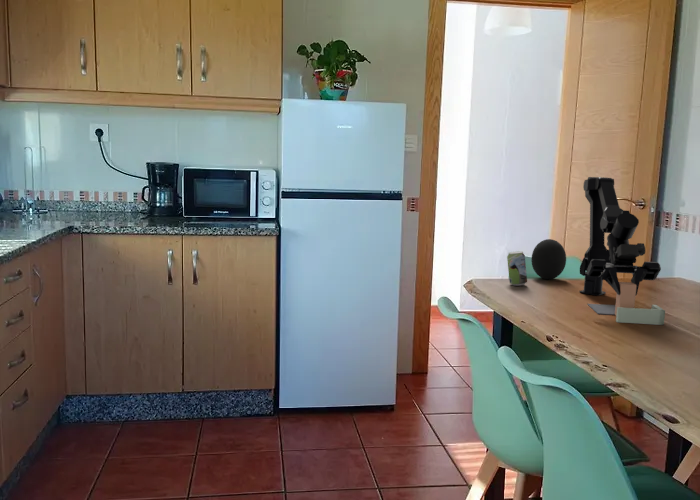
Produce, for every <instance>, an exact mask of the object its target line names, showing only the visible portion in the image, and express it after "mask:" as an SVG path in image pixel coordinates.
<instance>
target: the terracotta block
mask: <svg viewBox="0 0 700 500" xmlns="http://www.w3.org/2000/svg"><path fill="white" fill-rule="evenodd" d="M619 285H620V292H621V293H620V295H618V294H617V293H616V295H615V297H616V298H615V304H614V305H615V315H614V316H616V315H617V307H623V308H635V306H636V296H637V295H636V286H637V285H636V284H634V283H631V281H630V282H627V281H619Z"/></svg>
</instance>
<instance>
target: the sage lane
mask: <svg viewBox="0 0 700 500" xmlns="http://www.w3.org/2000/svg"><path fill="white" fill-rule="evenodd" d="M665 315H666V310H665V309H663V308H662V307H660V306H659V305H658V304H651V307H650V308H641V307H640V308H637V307H636V308H635V307H634V308H623V307H617V315H615V317H616V318H615V322H616V323H623V324H641V325H643V324H644V325H657V326H659V325H660V326H664V325H665V317H666V316H665Z"/></svg>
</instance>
